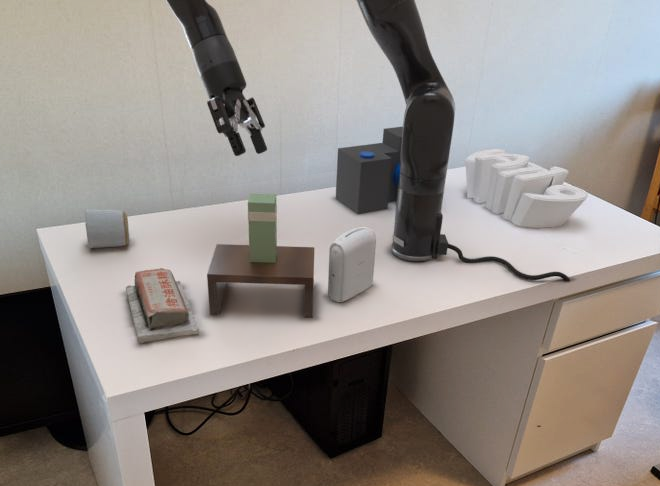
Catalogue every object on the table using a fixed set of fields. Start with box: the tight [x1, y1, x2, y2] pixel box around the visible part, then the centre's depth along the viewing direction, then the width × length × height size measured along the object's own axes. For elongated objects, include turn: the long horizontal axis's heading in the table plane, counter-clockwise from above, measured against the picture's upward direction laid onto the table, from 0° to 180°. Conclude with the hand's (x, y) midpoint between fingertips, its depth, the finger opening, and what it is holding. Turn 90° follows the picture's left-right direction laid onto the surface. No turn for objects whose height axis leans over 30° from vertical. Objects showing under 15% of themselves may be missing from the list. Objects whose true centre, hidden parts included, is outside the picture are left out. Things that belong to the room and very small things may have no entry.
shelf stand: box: [206, 243, 315, 319], centre depth 119 cm, size 18×12×8 cm, turn 91°
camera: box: [335, 126, 403, 215], centre depth 159 cm, size 25×16×16 cm, turn 119°
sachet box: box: [247, 193, 278, 263], centre depth 115 cm, size 5×4×11 cm
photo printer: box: [327, 226, 377, 303], centre depth 122 cm, size 10×4×12 cm, turn 140°
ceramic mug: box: [84, 209, 130, 249], centre depth 136 cm, size 11×8×8 cm
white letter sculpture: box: [465, 148, 589, 229], centre depth 162 cm, size 35×16×11 cm, turn 25°
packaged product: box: [125, 267, 200, 344], centre depth 115 cm, size 18×5×10 cm
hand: (252, 153), depth 126 cm, fingers open, 8 cm apart
